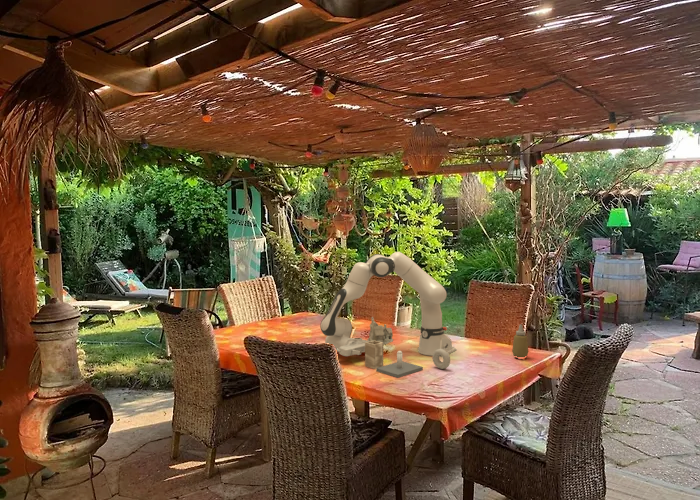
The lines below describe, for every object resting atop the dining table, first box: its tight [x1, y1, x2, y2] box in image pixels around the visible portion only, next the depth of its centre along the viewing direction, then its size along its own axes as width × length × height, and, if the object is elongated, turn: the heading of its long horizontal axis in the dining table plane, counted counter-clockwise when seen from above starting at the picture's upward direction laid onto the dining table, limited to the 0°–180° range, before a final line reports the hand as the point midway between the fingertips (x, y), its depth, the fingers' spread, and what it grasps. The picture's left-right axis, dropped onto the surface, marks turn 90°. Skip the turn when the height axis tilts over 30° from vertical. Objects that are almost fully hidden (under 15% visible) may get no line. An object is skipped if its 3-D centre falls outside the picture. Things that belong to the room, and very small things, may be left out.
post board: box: [375, 350, 424, 379], centre depth 249 cm, size 18×14×10 cm
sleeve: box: [364, 340, 384, 370], centre depth 256 cm, size 6×6×12 cm
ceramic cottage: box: [367, 316, 394, 346], centre depth 306 cm, size 16×16×15 cm
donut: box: [432, 349, 451, 370], centre depth 252 cm, size 10×4×10 cm, turn 43°
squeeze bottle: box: [511, 324, 529, 357], centre depth 269 cm, size 8×8×18 cm
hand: (367, 351), depth 260 cm, fingers open, 8 cm apart
